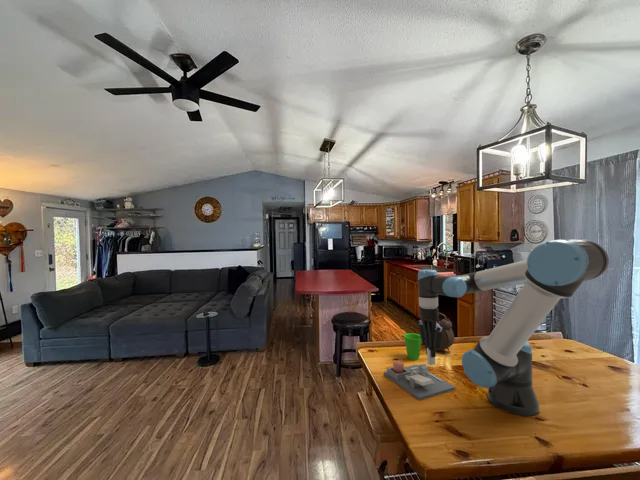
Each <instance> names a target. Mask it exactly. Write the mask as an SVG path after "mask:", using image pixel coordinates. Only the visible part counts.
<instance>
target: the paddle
mask: <svg viewBox="0 0 640 480" xmlns="http://www.w3.org/2000/svg"><path fill="white" fill-rule="evenodd" d="M405 378H406V379H408V380H410V378H413V379H414V381H415V383H417V384H420V385H422V386H424V385H427V384H431V383H433V381H432V379H429V378H427V377H424V376H422V375H419V374H417V373H413V374H409V375H405Z"/></svg>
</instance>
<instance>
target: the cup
mask: <svg viewBox="0 0 640 480" xmlns="http://www.w3.org/2000/svg"><path fill="white" fill-rule="evenodd" d="M403 338H404V344H405V350H406V355H407V358H408V360H410V361H418V360H419V359H420V352H421V346H422V341H421V336H420V333H419V334H418V333H415V332H413V333H412V332H410V333H409V332H408V333H404V334H403Z"/></svg>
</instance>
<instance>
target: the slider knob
mask: <svg viewBox="0 0 640 480" xmlns="http://www.w3.org/2000/svg"><path fill="white" fill-rule="evenodd" d="M417 365H418V373H419V374H420V375H422V374H424V375H429V373H428V372H429V366H428V365H426V364H425V363H421V364H417Z"/></svg>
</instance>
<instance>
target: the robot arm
mask: <svg viewBox="0 0 640 480" xmlns="http://www.w3.org/2000/svg"><path fill="white" fill-rule="evenodd" d="M609 265H610V258H609V254H608V253H607V250H606V249H605V248H604V247H603V246H601V245H600V244H598V243H597V242H594V241H593V240H589V239H580V238H577V239H559V238H557V239H552V240H548V241H544V242H541V243H539V244H538V245H537V246H535V247H533V248H532V250H531V251H530V252H529V254H528V256H527V259H525V260H524V259H523V260H520V261H516V262H512V263H508V264H504V265H500V266H495V267H492V268H491V267H490V268H487V269H483V270H479V271H475V272H470V273H465V274H457V275H456V274H455V275H448V276H447V275H438V272H437V269H420V270H419V271H418V272H417V286H418V288H417V289H418V306H419V311H418V312H419V316H420V320H416V324H417V326H418V331H419V335H420V336H421V345H422V346H424V347H425V351H426V352H425V353H426V354H425V355H426V358H427V359H426V360H427V362H426V363H427V366H428V365H429V366H433V365H434V366H435V365H436V357H437V355H436V354H437V353H436V352H437V350H436V349H439V348H440V341H441V335H442V331H443V329H444V328H443V327H441V326H440V325H439V323H438V319H437V318H439V317H440V314H439V313H440V312H439V310H440V309H439V308H438V307H439V295H440V296H446V297H451V298H461V297H463V296H464V295H465V294H471V293H473V294H474V293H479V292H483V291H488V290H494V289H501V288H505V287H511V286H512V287H513V286H518V285H523V284H524V285H523V286H522V287H521V289H520V290H519V292H518V293H517V295H516V296H515V298H514V299H513V300H512V302H511V303H510V305H509V307H508V308H507V309H506V311H505V312H504V314H502V316H501V318H500V319H499V321H498V322H497V324H496V325H495V327H494V328H493V330H492V331H491V333H490V334H489V335H487V336H485V335H484V336H482V337H481V338H480V339H479V340H478V342H477V343H476V344H475V346H474V347H473V348H472V349H468V350H466V351H465V352H464V353H463V354H462V355H461V366H462V368H463V371H464V374H465V375H466V376H467V378H468V379H469V380H470V381H471V382H472V383H473V384H475V385H476V386H477V387H481V388H483V389H484V388H485V389H487V388H488V391H487V398H488V400H489V402H490V403H491V404H492V405H493V406H495V407H496V408H498V409H500V410H502V411H504V412H506V413H509V414H513V415H518V416H527V417H528V416H534V415H537V414H538V413H539V412H540V403H539V400H538V398H537V395H536V392H535V390H534V387H533V352H532V351H533V350H532V346H531V344H530V343H529V342H528V340H529V339H530V338H531V337H532V336H533V334H534V333H535V332H536V331H537V329H538V328H539V327H540V325H541V324H542V323H543V321H544V320H545V319H546V318H547V316H548V315H549V314H550V312H551V311H552V310H553V309H554V308H555V306H556V305H557V304H558V302H559V301H560V300H561V299H570V298H571V297H573V295H574V293H575V292H576V291H577V290H578V289H579V288H580V286H581V285H582V284H583V283H584V282H585V281H591V280H595V279H597V278H598V277H600V276H601V275H603V274H604V273H605V272H606V270H607V269H608V267H609Z"/></svg>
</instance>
